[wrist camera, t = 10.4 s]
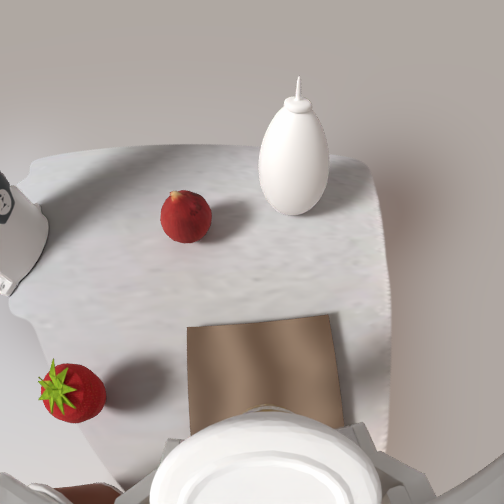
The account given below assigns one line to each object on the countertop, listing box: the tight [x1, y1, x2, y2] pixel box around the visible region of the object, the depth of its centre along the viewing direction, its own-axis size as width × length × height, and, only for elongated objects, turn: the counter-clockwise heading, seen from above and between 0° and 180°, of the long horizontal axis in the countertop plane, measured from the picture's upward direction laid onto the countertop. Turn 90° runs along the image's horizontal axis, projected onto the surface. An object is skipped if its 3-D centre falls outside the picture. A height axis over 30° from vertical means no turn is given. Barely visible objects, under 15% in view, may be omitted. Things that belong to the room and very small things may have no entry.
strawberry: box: [38, 358, 106, 423], centre depth 19 cm, size 6×8×10 cm
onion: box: [160, 190, 212, 243], centre depth 30 cm, size 6×6×8 cm
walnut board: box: [187, 315, 344, 436], centre depth 21 cm, size 14×20×2 cm
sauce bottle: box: [258, 76, 329, 215], centre depth 27 cm, size 8×8×18 cm
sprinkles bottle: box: [150, 404, 382, 504], centre depth 8 cm, size 5×5×13 cm
